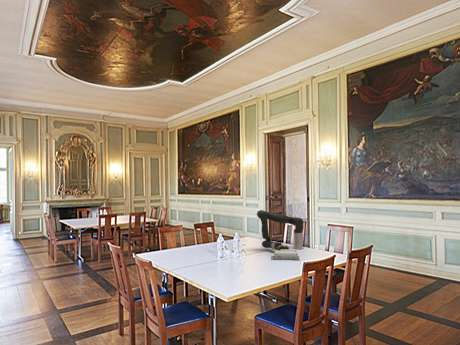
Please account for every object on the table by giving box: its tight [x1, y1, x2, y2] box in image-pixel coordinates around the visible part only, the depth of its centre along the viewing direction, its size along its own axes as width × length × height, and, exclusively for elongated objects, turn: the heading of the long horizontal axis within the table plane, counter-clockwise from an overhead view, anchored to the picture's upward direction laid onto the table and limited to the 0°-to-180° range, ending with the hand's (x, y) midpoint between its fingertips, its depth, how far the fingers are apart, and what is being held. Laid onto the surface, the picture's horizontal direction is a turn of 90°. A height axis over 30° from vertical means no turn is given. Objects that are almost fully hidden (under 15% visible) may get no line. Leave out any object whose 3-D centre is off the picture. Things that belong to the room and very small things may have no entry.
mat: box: [270, 255, 301, 261], centre depth 301 cm, size 16×26×1 cm, turn 81°
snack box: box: [273, 249, 299, 259], centre depth 302 cm, size 21×6×15 cm
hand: (288, 248), depth 312 cm, fingers closed
